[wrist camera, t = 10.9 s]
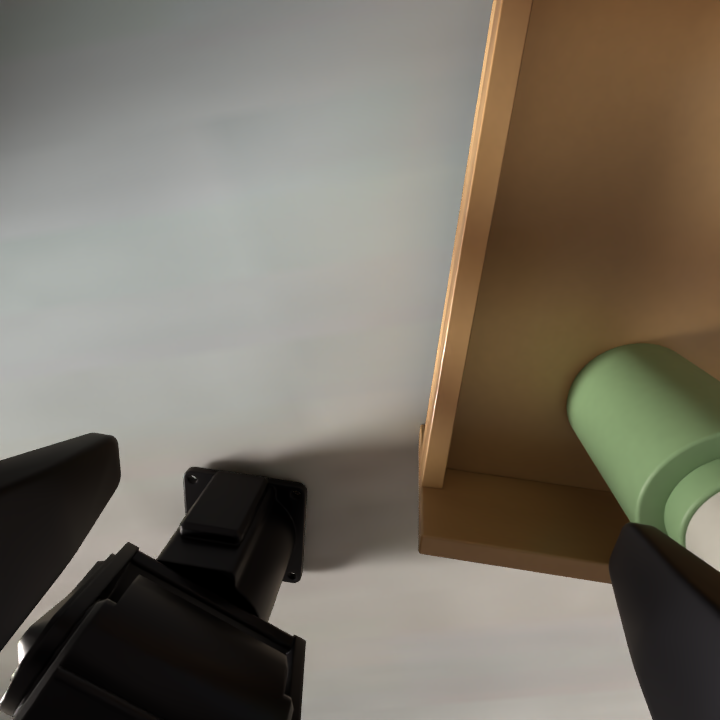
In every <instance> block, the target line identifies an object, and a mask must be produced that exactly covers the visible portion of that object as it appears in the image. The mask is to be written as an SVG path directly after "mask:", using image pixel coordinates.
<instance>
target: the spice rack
mask: <svg viewBox="0 0 720 720" xmlns="http://www.w3.org/2000/svg"><path fill="white" fill-rule="evenodd" d="M636 343H648V344H655V345H660V346H663V347H666V348H669V349H671V350H673V351H675V352H677V353H678V354H680V355H681V356H683V357H684V358H686V359H687V360H689V361H690V362H692V363H693V364H695V365H696V366H698V367H699V368H701V369H702V370H704V371H705V372H707V373H708V374H710V375H711V376H713V377H714V378H716V379H717V380H719V381H720V0H493V6H492V12H491V18H490V25H489V31H488V37H487V43H486V50H485V56H484V62H483V68H482V75H481V81H480V87H479V93H478V100H477V106H476V112H475V118H474V125H473V131H472V137H471V143H470V149H469V156H468V162H467V168H466V174H465V181H464V187H463V193H462V199H461V206H460V212H459V218H458V224H457V231H456V237H455V243H454V249H453V256H452V262H451V268H450V274H449V281H448V287H447V293H446V299H445V306H444V312H443V318H442V324H441V331H440V337H439V343H438V349H437V356H436V362H435V368H434V374H433V381H432V387H431V393H430V399H429V405H428V412H427V418H426V424H425V425H423V424H422V425H421V426H420V432H419V525H418V551H419V553H420V554H426V555H432V556H438V557H445V558H451V559H457V560H464V561H470V562H476V563H482V564H489V565H495V566H501V567H508V568H514V569H520V570H527V571H533V572H539V573H546V574H552V575H558V576H565V577H571V578H577V579H584V580H590V581H596V582H602V583H609V584H612V582H611V579H610V574H609V559H610V556H611V554H612V551H613V549H614V546H615V544H616V541H617V539H618V536H619V534H620V531H621V529H622V527H623V526H624V525H625V524H626V523H629V522H630V521H629V519H628V517H627V516H626V514H625V512H624V511H623V509H622V508H621V506H620V504H619V503H618V501H617V500H616V498H615V496H614V495H613V493H612V491H611V490H610V488H609V487H608V485H607V483H606V482H605V480H604V479H603V477H602V475H601V474H600V472H599V470H598V469H597V467H596V466H595V464H594V462H593V461H592V459H591V458H590V456H589V454H588V453H587V451H586V449H585V448H584V446H583V445H582V443H581V441H580V440H579V438H578V437H577V435H576V433H575V432H574V430H573V428H572V427H571V425H570V422H569V420H568V416H567V408H566V405H567V397H568V392H569V390H570V387H571V385H572V383H573V381H574V379H575V377H576V376H577V374H578V373H579V372H580V371H581V370H582V368H583V367H584V366H585V365H586V364H588V363H589V362H590V361H591V360H592V359H594V358H595V357H597V356H598V355H600V354H602V353H604V352H605V351H608V350H610V349H613V348H615V347H619V346H622V345H628V344H636Z"/></svg>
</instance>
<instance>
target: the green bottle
mask: <svg viewBox="0 0 720 720" xmlns="http://www.w3.org/2000/svg"><path fill="white" fill-rule="evenodd" d="M566 408H567V416H568V420H569V422H570V425H571V427H572V428H573V430H574V432H575V433H576V435H577V437H578V438H579V440H580V441H581V443H582V445H583V446H584V448H585V449H586V451H587V453H588V454H589V456H590V458H591V459H592V461H593V462H594V464H595V466H596V467H597V469H598V470H599V472H600V474H601V475H602V477H603V479H604V480H605V482H606V483H607V485H608V487H609V488H610V490H611V491H612V493H613V495H614V496H615V498H616V500H617V501H618V503H619V504H620V506H621V508H622V509H623V511H624V512H625V514H626V516H627V517H628V519H629V521H630V522H634V523H640V524H646V525H651V526H654V527H656V528H658V529H659V530H660V531H662V532H663V533H665V534H666V535H668V536H669V537H670V538H672V539H673V540H675V541H676V542H678V543H679V544H680V545H682V546H683V547H685V548H686V549H688V550H689V551H690V552H692V553H693V554H695V555H696V556H698V557H699V558H700V559H702V560H703V561H705V562H706V563H708V564H709V565H710V566H712V567H713V568H715V569H716V570H718V571H719V572H720V381H719V380H717V379H716V378H714V377H713V376H711V375H710V374H708V373H707V372H705V371H704V370H702V369H701V368H699V367H698V366H696V365H695V364H693V363H692V362H690V361H689V360H687V359H686V358H684V357H683V356H681V355H680V354H678V353H677V352H675V351H673V350H671V349H669V348H666V347H663V346H660V345H655V344H648V343H636V344H628V345H622V346H619V347H615V348H613V349H610V350H608V351H605V352H604V353H602V354H600V355H598V356H597V357H595V358H594V359H592V360H591V361H590V362H589V363H588V364H586V365H585V366H584V367H583V368H582V370H581V371H580V372H579V373H578V374H577V376H576V377H575V379H574V381H573V383H572V385H571V387H570V390H569V392H568V397H567V405H566Z"/></svg>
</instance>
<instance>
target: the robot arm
mask: <svg viewBox="0 0 720 720" xmlns="http://www.w3.org/2000/svg"><path fill="white" fill-rule="evenodd" d="M192 475H193V476H195V477H196V478H197V479H195V478H193V477H192ZM120 477H121V470H120V459H119V448H118V442H117V440H116V438H115V437H113V436H111V435H105V434H99V433H89V434H85V435H82V436H79V437H76V438H72V439H69V440H66V441H63V442H59V443H56V444H53V445H50V446H46V447H43V448H40V449H36V450H33V451H30V452H27V453H23V454H20V455H17V456H14V457H10V458H7V459H4V460H0V652H1V650H2V649H3V648H4V646H5V645H6V644H7V642H8V641H9V640H10V639H11V637H12V636H13V635H14V633H15V632H16V631H17V630H18V628H19V627H20V626H21V624H22V623H23V622H24V621H25V619H26V618H27V617H28V615H29V614H30V613H31V612H32V610H33V609H34V608H35V606H36V605H37V604H38V603H39V601H40V600H41V599H42V597H43V596H44V595H45V594H46V592H47V591H48V590H49V588H50V587H51V586H52V585H53V583H54V582H55V581H56V579H57V578H58V577H59V575H60V574H61V573H62V571H63V570H64V569H65V567H66V566H67V565H68V563H69V562H70V561H71V559H72V558H73V556H74V555H75V553H76V552H77V550H78V549H79V547H80V546H81V544H82V542H83V541H84V539H85V538H86V536H87V535H88V533H89V531H90V530H91V528H92V527H93V525H94V524H95V522H96V520H97V519H98V517H99V516H100V514H101V512H102V511H103V509H104V508H105V506H106V505H107V503H108V501H109V500H110V498H111V497H112V495H113V494H114V492H115V490H116V489H117V487H118V485H119V482H120ZM183 484H184V499H185V515H186V516H185V517H184V519H183V520H182V521H181V523H180V526H179V528H178V529H177V531H176V532H175V533H174V535H173V536H172V538H171V539H170V541H169V542H168V543H167V545H166V546H165V548H164V549H163V551H162V552H161V554H160V555H159V556H158V558H157V559H156V560H155V559H153V558H151V557H150V556H148V555H146V554H144V553H142V552H141V551H139V547H137V546H135V545H133V544H131V543H130V542H127V543H126V544H125V545H124V547H123V548H122V549H121V550H120V551H119V552H118V553H117V554H116V555H114V554H113V553H112V554H111V555H110V556H109V557H108V558H107V559H106V560H105V561H98V562H97V563H96V564H95V565H94V566H93V568H92V569H91V570H90V571H89V572H88V573H87V575H86V576H85V577H84V578H83V579H82V581H81V582H80V583H79V584H78V585H77V586H76V587H75V589H74V590H73V591H72V592H71V593H70V594H69V595H68V596H67V597H65V598H64V599H63V600H62V601H61V602H59V603H58V604H57V605H56V606H55V607H53V608H52V609H51V610H50V611H48V612H47V613H46V614H45V615H44V616H42V617H41V618H40V619H39V620H38V621H36V622H35V623H34V624H33V625H32V626H31V627H30V628H29V629H28V630H27V631H26V632H25V634H24V635H23V636H22V638H21V639H20V641H19V642H18V663H19V665H18V667H17V668H16V670H15V672H14V673H13V675H12V677H11V679H10V681H11V682H12V683H11V684H10V686H9V687H8V689H7V690H6V692H5V694H4V695H3V697H2V699H1V701H0V711H2V712H4V713H6V714H8V715H10V716H12V717H14V719H13V720H301V706H302V691H303V676H304V661H305V646H306V641H305V640H304V639H302V638H300V637H298V636H296V635H294V636H291V635H290V634H288V633H286V632H284V631H282V630H281V629H279V628H277V627H275V626H273V625H272V624H270V623H268V620H269V617H270V615H271V612H272V609H273V606H274V603H275V600H276V597H277V594H278V591H279V588H280V585H281V583H282V581H284V582H290V583H296V582H298V581H300V579H301V576H302V572H303V556H304V538H305V520H306V501H307V489H306V487H305V486H304V485H303V484H302V483H299V482H293V481H286V480H279V479H273V478H266V477H260V476H254V475H247V474H240V473H234V472H227V471H219V470H212V469H206V468H199V467H191V468H189V469H188V470H187V471H186V473H185V474H184V476H183ZM293 491H297V492H299V493H300V494H295V493H294V492H293ZM293 573H295V574H293ZM609 574H610V579H611V582H612V586H613V590H614V594H615V598H616V602H617V606H618V610H619V613H620V617H621V621H622V625H623V629H624V633H625V637H626V641H627V644H628V648H629V652H630V655H631V659H632V662H633V666H634V669H635V672H636V675H637V678H638V680H639V683H640V686H641V689H642V692H643V694H644V697H645V700H646V703H647V705H648V708H649V711H650V713H651V716H652V719H653V720H720V572H719V571H718V570H716V569H715V568H713V567H712V566H710V565H709V564H708V563H706V562H705V561H703V560H702V559H700V558H699V557H698V556H696V555H695V554H693V553H692V552H690V551H689V550H688V549H686V548H685V547H683V546H682V545H680V544H679V543H678V542H676V541H675V540H673V539H672V538H670V537H669V536H668V535H666V534H665V533H663V532H662V531H660V530H659V529H658V528H656V527H654V526H651V525H646V524H640V523H634V522H629V523H626V524H625V525H624V526H623V527H622V529H621V531H620V534H619V536H618V539H617V541H616V544H615V546H614V549H613V551H612V554H611V556H610V559H609Z"/></svg>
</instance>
